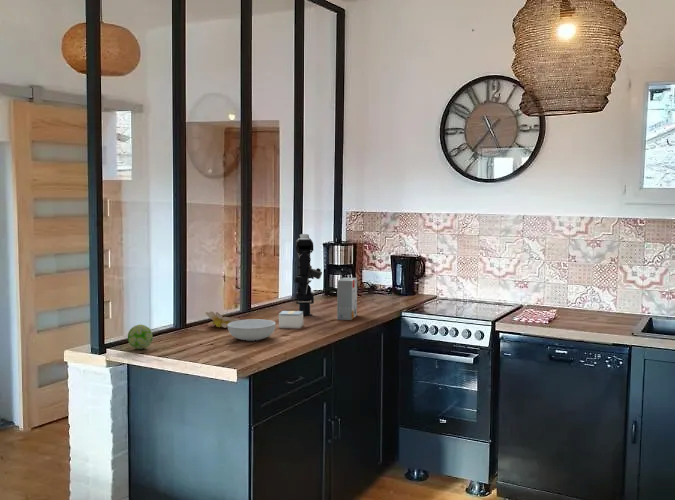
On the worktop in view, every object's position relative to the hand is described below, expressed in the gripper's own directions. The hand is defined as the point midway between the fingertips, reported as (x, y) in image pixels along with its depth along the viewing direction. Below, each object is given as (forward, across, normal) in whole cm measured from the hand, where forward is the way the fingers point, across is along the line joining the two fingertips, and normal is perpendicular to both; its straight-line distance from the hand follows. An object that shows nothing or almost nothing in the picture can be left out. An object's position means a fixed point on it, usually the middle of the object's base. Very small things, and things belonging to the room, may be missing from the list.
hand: (304, 295), depth 339 cm
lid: (+7, -15, +4) cm, 17 cm away
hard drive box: (+13, +12, -20) cm, 27 cm away
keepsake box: (+13, -15, +4) cm, 20 cm away
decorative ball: (+13, -71, +54) cm, 90 cm away
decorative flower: (+13, -21, +36) cm, 43 cm away
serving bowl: (+13, -45, +15) cm, 49 cm away
